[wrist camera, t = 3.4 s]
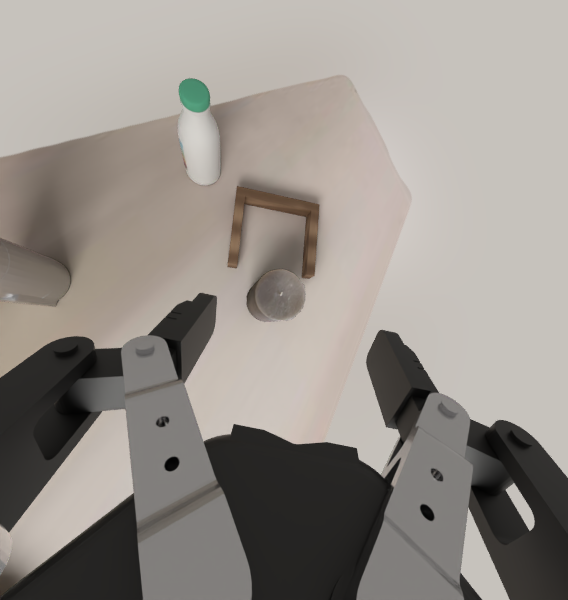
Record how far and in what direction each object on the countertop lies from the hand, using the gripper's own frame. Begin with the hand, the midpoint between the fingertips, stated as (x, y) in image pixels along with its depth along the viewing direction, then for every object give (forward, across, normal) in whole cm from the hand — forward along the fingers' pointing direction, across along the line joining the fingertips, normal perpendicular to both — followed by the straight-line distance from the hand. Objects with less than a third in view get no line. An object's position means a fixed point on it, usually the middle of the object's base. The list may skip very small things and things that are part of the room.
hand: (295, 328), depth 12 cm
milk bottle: (+53, -24, +2) cm, 58 cm away
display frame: (+49, -5, -9) cm, 50 cm away
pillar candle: (+40, -4, -21) cm, 46 cm away
